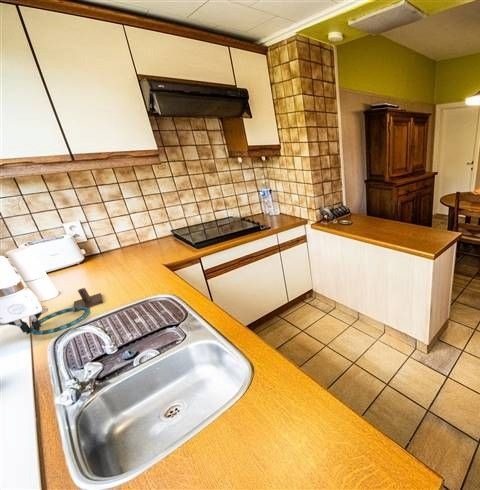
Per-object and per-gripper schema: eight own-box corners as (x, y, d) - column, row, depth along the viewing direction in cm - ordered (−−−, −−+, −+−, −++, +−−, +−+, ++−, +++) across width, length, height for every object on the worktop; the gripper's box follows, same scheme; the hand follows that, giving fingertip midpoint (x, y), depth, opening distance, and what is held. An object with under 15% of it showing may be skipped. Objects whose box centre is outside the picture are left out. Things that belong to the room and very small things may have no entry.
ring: (28, 342, 95) (25, 339, 95) (32, 322, 106) (30, 319, 105) (91, 320, 106) (90, 317, 106) (90, 304, 117) (88, 301, 116)
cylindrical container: (57, 291, 132) (30, 245, 123) (58, 295, 128) (30, 249, 118) (36, 298, 127) (5, 251, 118) (36, 303, 123) (4, 254, 113)
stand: (75, 312, 115) (66, 297, 112) (75, 304, 121) (67, 290, 118) (103, 302, 121) (95, 288, 118) (101, 295, 127) (94, 282, 124)
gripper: (-34, 303, 86) (-1, 347, 94) (39, 284, 97) (63, 324, 104) (-28, 295, 91) (2, 336, 98) (41, 277, 102) (63, 316, 109)
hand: (33, 330), depth 101 cm, fingers closed on ring, 1 cm apart
